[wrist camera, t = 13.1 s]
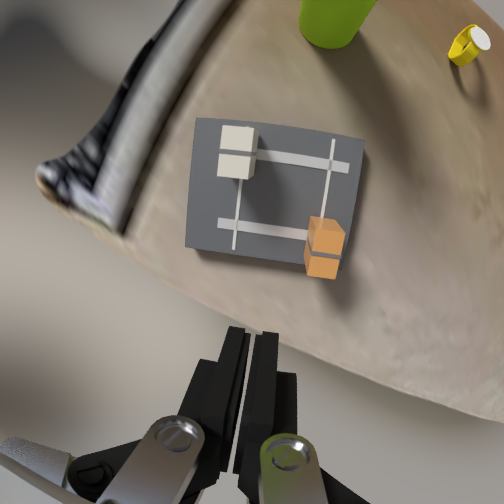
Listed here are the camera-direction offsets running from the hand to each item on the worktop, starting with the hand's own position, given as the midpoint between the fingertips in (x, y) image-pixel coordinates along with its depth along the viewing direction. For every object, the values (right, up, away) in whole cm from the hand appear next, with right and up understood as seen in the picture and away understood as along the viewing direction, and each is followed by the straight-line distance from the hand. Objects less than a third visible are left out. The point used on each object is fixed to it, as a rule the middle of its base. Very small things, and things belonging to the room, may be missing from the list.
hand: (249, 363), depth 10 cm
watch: (+23, +27, +12) cm, 38 cm away
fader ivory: (-1, +13, +17) cm, 21 cm away
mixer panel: (+2, +10, +20) cm, 22 cm away
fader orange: (+6, +5, +18) cm, 20 cm away
